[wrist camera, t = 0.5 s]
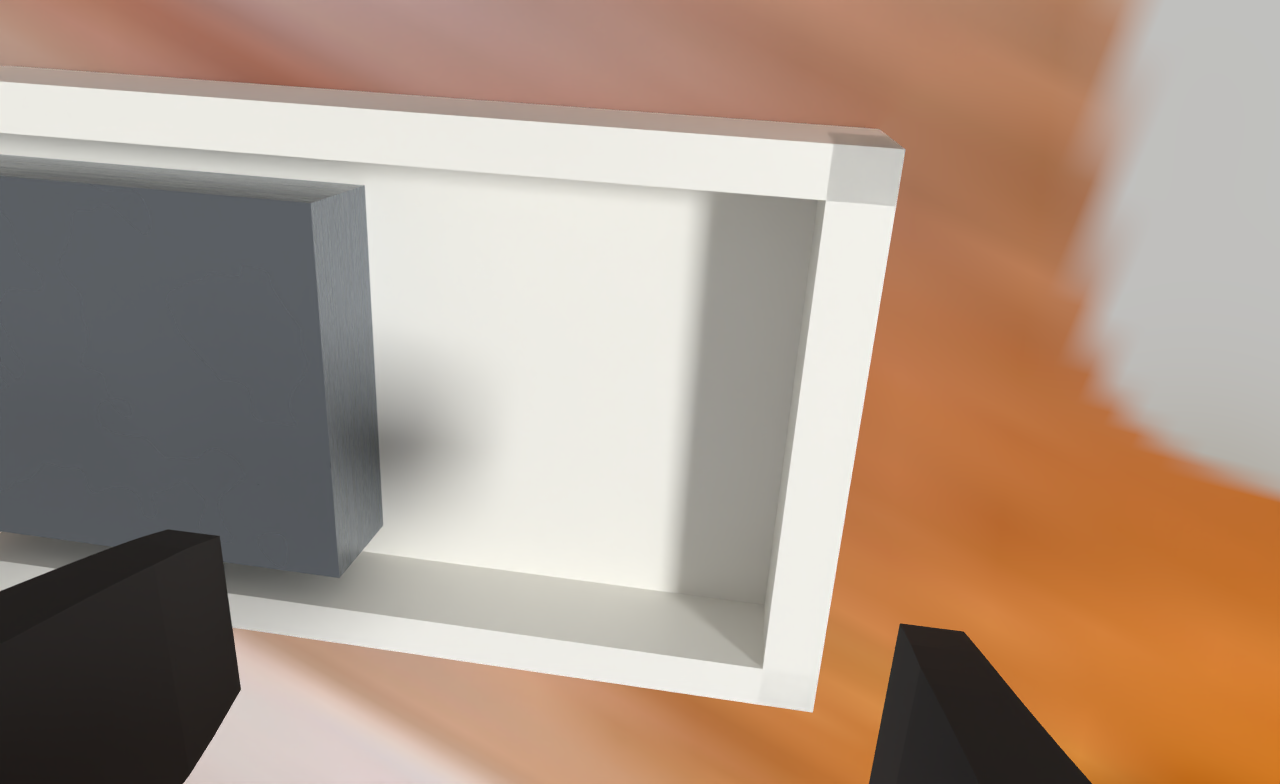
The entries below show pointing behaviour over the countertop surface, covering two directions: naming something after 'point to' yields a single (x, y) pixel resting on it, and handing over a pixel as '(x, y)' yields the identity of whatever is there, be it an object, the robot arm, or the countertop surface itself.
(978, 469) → the countertop surface
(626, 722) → the countertop surface
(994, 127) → the countertop surface
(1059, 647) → the countertop surface
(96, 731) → the robot arm
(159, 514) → the slate block
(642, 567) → the open front case
